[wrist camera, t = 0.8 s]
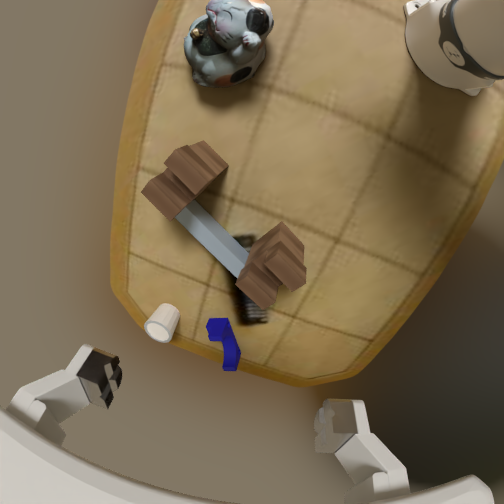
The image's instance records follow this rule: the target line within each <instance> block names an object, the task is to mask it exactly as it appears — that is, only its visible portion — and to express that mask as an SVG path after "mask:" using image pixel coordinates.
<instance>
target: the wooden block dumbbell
mask: <svg viewBox="0 0 504 504" xmlns="http://www.w3.org/2000/svg"><path fill="white" fill-rule="evenodd" d="M164 164H165V165H166V166H167V167H168V168H167V169H166V170H165V171H164V172H163V173H162V174H160V175H158V176H156V177H155V178H153V179H151V180H150V181H149V182H148V183H147V185H146V186H145V187H144V189H143V190H142V191H141V193H142V194H143V195H144V196H145V197H146V198H147V199H148V200H149V201H150V202H151V203H152V204H153V205H154V206H155V207H156V208H157V209H158V210H159V211H160V212H161V213H162V214H163V215H164V216H165V217H166V218H167V219H168V220H169V221H171V220H172V219H174V218H175V217H176V216H177V215H178V214H179V213H180V212H181V211H182V210H183V209H184V208H185V207H186V206H187V205H188V204H189V203H190V202H192V201H193V200H194V199H195V198H196V197H197V196H198V195H199V194H200V193H202V192H203V191H204V189H205V188H206V187H207V186H208V185H209V184H210V183H211V182H212V181H214V180H215V179H216V178H217V177H218V176H219V175H220V174H221V173H222V172H223V171H224V170H225V169H226V168H227V167H228V166H229V165H228V164H227V163H226V162H225V161H224V160H223V159H222V158H221V157H220V156H219V155H218V154H217V153H216V152H215V151H214V150H213V149H212V148H211V147H210V146H209V145H208V144H207V143H206V142H205V141H201V142H198V143H196V144H193V145H191V146H188V145H186V146H183V147H180V148H178V149H175V150H174V151H173V153H172V154H171V155H170V156H169V157H168V159H167V160H166V161H165V162H164ZM303 263H304V245H303V244H302V243H301V242H300V241H299V239H298V238H297V237H296V236H295V235H294V234H293V233H292V232H291V231H290V230H289V228H288V227H287V226H286V225H285V224H284V223H283V222H280V223H279V224H278V225H277V226H275V227H274V228H273V229H271V230H270V231H269V232H268V233H266V234H265V235H264V236H263V237H261V238H260V239H259V240H257V241H256V242H255V243H254V244H253V245H252V248H251V250H250V253H249V255H248V258H247V261H246V263H245V266H244V268H243V269H241V271H240V274H239V276H238V279H237V281H236V284H235V285H236V286H237V287H239V288H240V289H241V290H242V291H243V292H244V293H245V294H246V295H247V296H248V297H249V298H250V299H251V300H253V301H254V302H255V303H256V304H257V305H258V306H259V307H260V308H261V309H262V310H264V309H265V308H267V307H269V306H270V305H272V304H274V303H275V301H276V295H277V290H278V287H279V286H280V285H282V284H283V283H284V284H285V285H286V286H287V287H288V288H289V289H290V290H291V291H292V292H293V291H295V290H296V289H298V288H299V287H301V286H303V285H304V284H306V267H305V266H304V265H303Z"/></svg>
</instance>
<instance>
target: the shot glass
mask: <svg viewBox="0 0 504 504" xmlns="http://www.w3.org/2000/svg"><path fill="white" fill-rule="evenodd" d="M179 318H180V313H179V311H178V310H177V308H175V307H174V306H173V305H170V304H167V303H163V304H161V305H160V306H159V307H158V308H157V310H156V311H155V312H154V313H153V314H152V316H151V317H150V318H149V319H148V320H147V322H146V323H145V324H144V328H145V331H146V333H147V334H148V335H149V336H150V337H152V338H153V339H154V340H156V341H159V342H163V343H165V342H169V341H170V340H171V339H172V336H173V333H174V331H175V328H176V326H177V323H178V321H179Z"/></svg>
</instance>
